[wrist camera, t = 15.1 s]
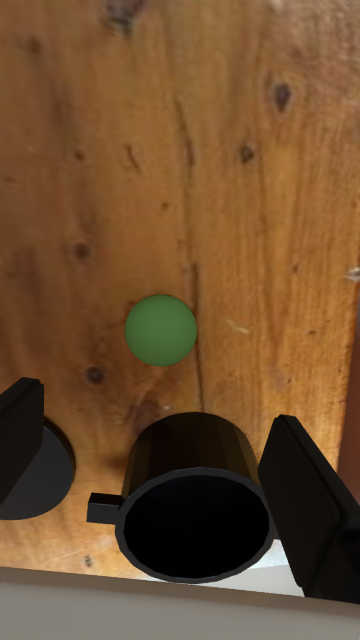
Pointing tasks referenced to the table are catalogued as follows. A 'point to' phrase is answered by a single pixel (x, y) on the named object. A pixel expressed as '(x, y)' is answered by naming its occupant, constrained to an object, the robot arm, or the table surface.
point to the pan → (189, 502)
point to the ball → (160, 330)
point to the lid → (41, 480)
